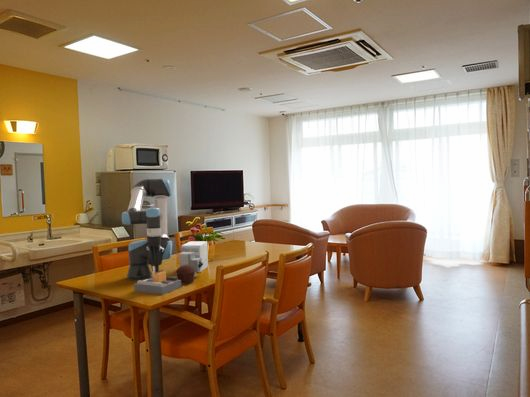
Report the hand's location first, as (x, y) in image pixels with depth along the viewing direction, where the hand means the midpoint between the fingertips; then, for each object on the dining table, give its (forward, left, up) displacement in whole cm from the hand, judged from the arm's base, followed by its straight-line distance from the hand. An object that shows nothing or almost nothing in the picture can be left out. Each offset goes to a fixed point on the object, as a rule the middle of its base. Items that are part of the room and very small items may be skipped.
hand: (155, 277), depth 226 cm
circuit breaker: (+2, +31, -7) cm, 32 cm away
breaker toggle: (+3, 0, -2) cm, 3 cm away
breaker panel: (+1, 0, -7) cm, 7 cm away
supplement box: (-8, +49, -7) cm, 50 cm away
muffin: (+7, +18, -7) cm, 21 cm away
